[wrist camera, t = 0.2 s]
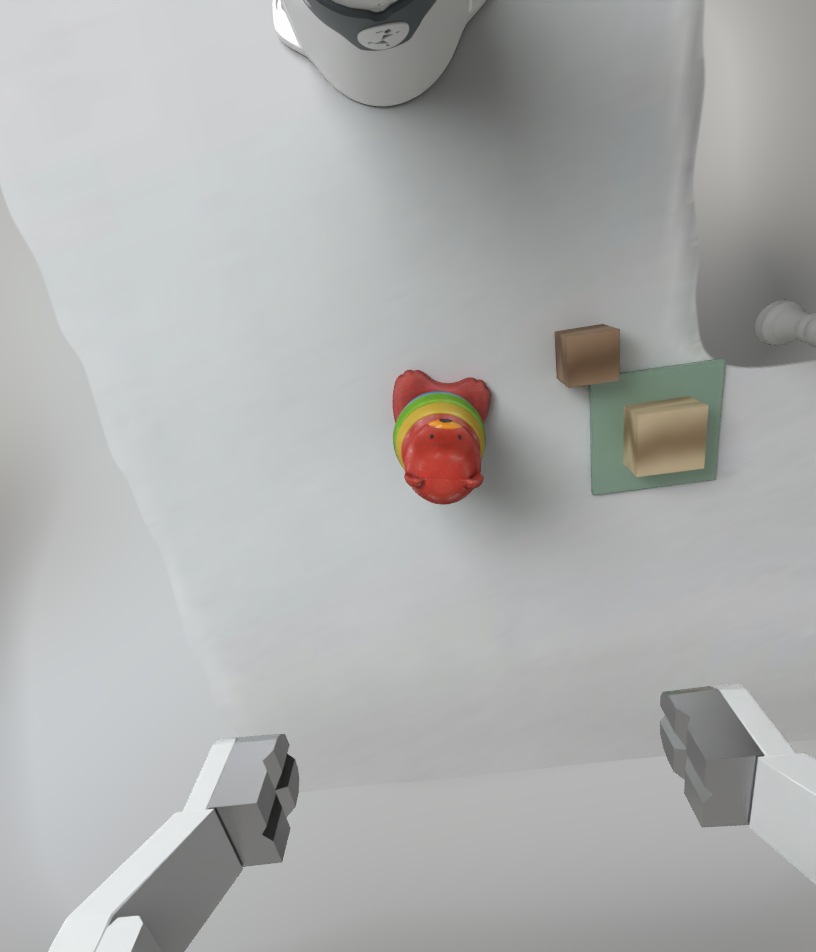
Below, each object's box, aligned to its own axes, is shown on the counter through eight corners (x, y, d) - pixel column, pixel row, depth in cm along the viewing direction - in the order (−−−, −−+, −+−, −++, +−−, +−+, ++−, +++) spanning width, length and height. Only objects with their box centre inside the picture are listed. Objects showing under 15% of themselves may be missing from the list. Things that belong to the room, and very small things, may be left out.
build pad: (589, 377, 55) (591, 379, 54) (722, 358, 53) (725, 359, 53) (591, 492, 60) (593, 494, 59) (712, 477, 59) (715, 479, 58)
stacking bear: (493, 380, 55) (523, 426, 39) (476, 464, 59) (496, 539, 42) (396, 366, 55) (384, 407, 38) (386, 452, 59) (371, 522, 42)
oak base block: (623, 405, 55) (638, 415, 51) (689, 396, 55) (708, 405, 51) (623, 463, 58) (637, 477, 54) (685, 455, 57) (704, 468, 53)
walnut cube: (554, 331, 53) (566, 337, 48) (602, 324, 53) (619, 329, 48) (556, 377, 55) (568, 387, 50) (602, 371, 54) (619, 380, 50)
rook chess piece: (804, 325, 52) (867, 334, 45) (763, 352, 53) (818, 366, 46) (785, 290, 51) (847, 293, 43) (744, 319, 52) (797, 327, 45)
